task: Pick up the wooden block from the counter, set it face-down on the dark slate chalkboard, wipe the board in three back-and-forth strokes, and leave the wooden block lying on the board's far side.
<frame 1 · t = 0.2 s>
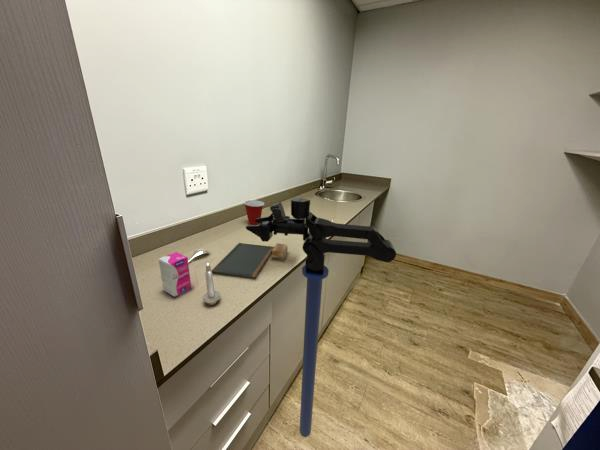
hand: (250, 223, 91), 14 cm above the worktop, tool horizontal, fingers open, 9 cm apart
wooden block: (279, 256, 98), on the worktop
plastic cup: (254, 223, 133), on the worktop
metal serving spoon: (187, 264, 90), on the worktop
supplement box: (178, 290, 75), on the worktop
chalkboard: (246, 259, 94), on the worktop
screw: (212, 302, 70), on the worktop
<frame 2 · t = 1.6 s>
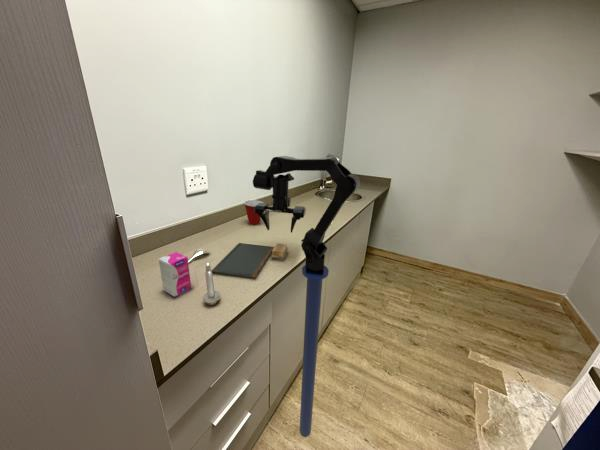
hand: (279, 231, 94), 11 cm above the worktop, tool pointing down, fingers open, 9 cm apart
nothing on the worktop moved.
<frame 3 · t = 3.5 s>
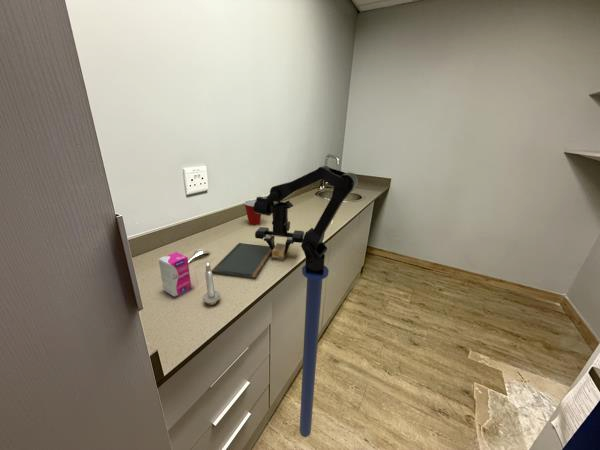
hand: (280, 254, 97), 1 cm above the worktop, tool pointing down, fingers closed on wooden block, 4 cm apart
wooden block: (279, 256, 98), on the worktop, touching gripper
everything else where it was.
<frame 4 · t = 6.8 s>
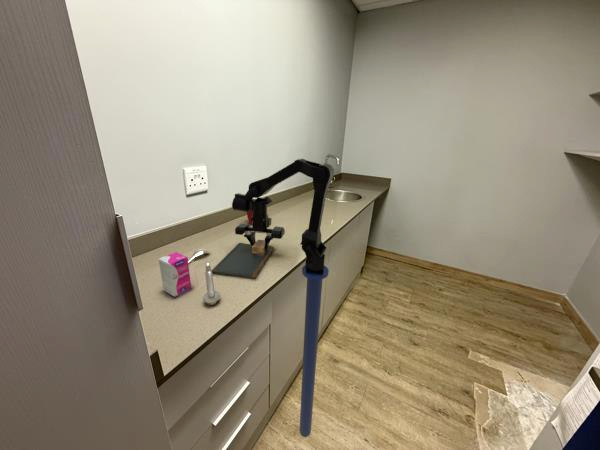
hand: (260, 250, 98), 2 cm above the worktop, tool pointing down, fingers closed on wooden block, 4 cm apart
wooden block: (260, 252, 98), point 1 cm above the worktop, touching gripper
everything else where it was.
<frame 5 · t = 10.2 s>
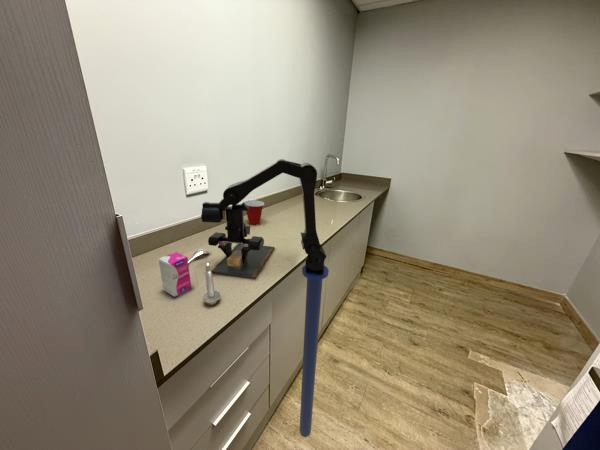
hand: (237, 262, 88), 2 cm above the worktop, tool pointing down, fingers closed on wooden block, 4 cm apart
wooden block: (237, 264, 89), point 1 cm above the worktop, touching gripper
everything else where it was.
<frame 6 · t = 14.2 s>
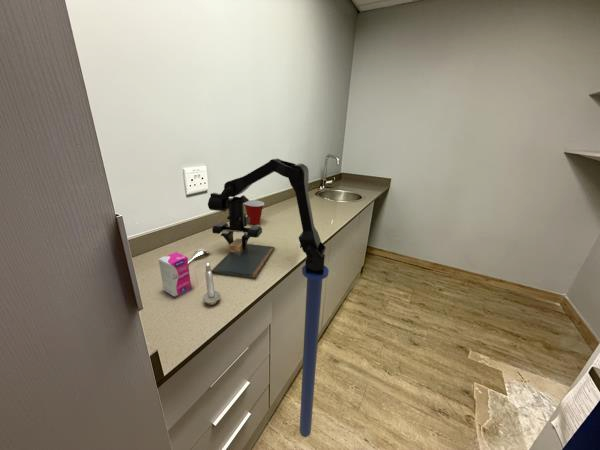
hand: (238, 249, 98), 2 cm above the worktop, tool pointing down, fingers closed on wooden block, 4 cm apart
wooden block: (238, 251, 99), point 1 cm above the worktop, touching gripper
everything else where it was.
when the fingers open (2 cm above the worktop, at t = 17.3 s): wooden block stays where it is, resting on chalkboard.
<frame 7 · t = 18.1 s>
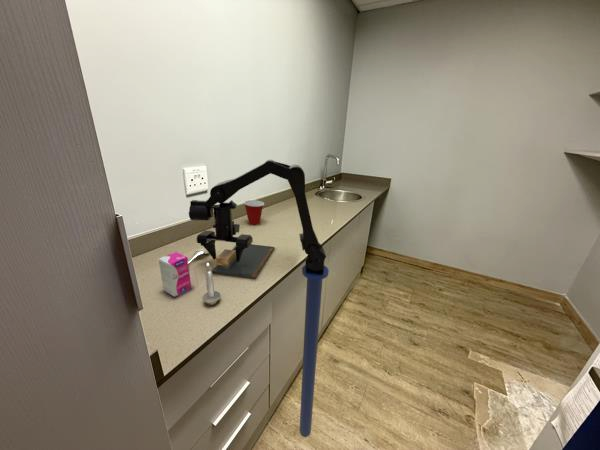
hand: (226, 260, 89), 2 cm above the worktop, tool pointing down, fingers open, 9 cm apart
wooden block: (227, 263, 89), point 1 cm above the worktop, touching chalkboard
everything else where it was.
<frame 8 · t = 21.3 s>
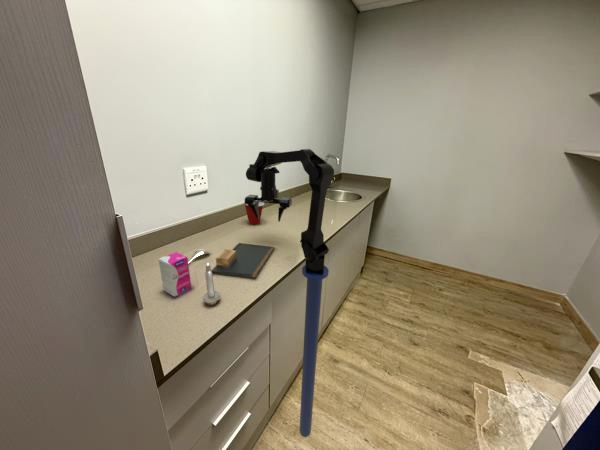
hand: (268, 220, 102), 12 cm above the worktop, tool pointing down, fingers open, 9 cm apart
nothing on the worktop moved.
at the end: wooden block inside the target area (7.5 cm from its centre), point 1.0 cm above the worktop; wooden block tilted 0°; wooden block moved 20.8 cm from its start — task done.
